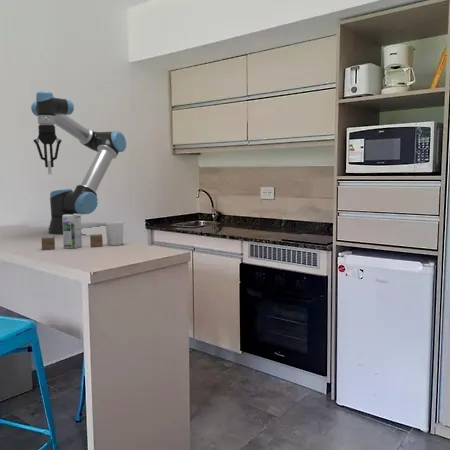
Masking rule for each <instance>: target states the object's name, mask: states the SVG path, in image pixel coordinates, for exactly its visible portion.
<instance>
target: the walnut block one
mask: <svg viewBox="0 0 450 450" xmlns="http://www.w3.org/2000/svg"><path fill="white" fill-rule="evenodd" d="M89 237H90V238H89V239H90V240H89V242H90V248H101V247H102V248H103V247H104V245H103V242H104V241H103V233H102V234H101V233H100V234H99V233H98V234H96V233H95V234H89Z"/></svg>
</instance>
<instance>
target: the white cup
mask: <svg viewBox="0 0 450 450" xmlns="http://www.w3.org/2000/svg"><path fill="white" fill-rule="evenodd" d="M105 233H106V242H107V246H121V244H122V245H124V221H107V222H105Z"/></svg>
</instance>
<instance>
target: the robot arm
mask: <svg viewBox="0 0 450 450" xmlns="http://www.w3.org/2000/svg"><path fill="white" fill-rule="evenodd" d="M35 99H36V100H35V101H33V102H32V104H31V107H30V109H31V112H32V114H33V115H35V116H36V117H37V124H38V126H37V127H38V136H37V138H35V139H33V143H34V144H35V146H36V148H37V151H38V155H39V158H40V160H43V161H44V166H45V168H47V173H48V174H47V175H53V173H52V168H54V167H55V166H54V161H56V160H57V159H58V155H59V154H58V153H59V150H60V145H61V143H62V141H63V140H62V139H59V138H58V137H57V134H56V127H59V128H60V129H62V130H63V131H65V132H67V133H68V134H69V135H71V136H73V137H74V138H76V139H77V140H79V143H80V144H81V145H83V146H84V147H87V148H88V149H90V150H92V151H95V152H97V154H96V155H95V157H94V159H93V161H92V163H91V165H90V167H89V169H88V170H87V172H86V174H85V176H84V178H83V180H82V182H81V184H77V185H76V187H75V189H74V191H73V189H72V188H68V189H67V188H66V189H57V190H52V191H50V194H49V195H50V198H49V203H50V204H49V205H50V218H51V219H50V223H49V227H48V234H51V235H52V234H54V235H60V234H61V235H63V221H62V215H66V214H73V215H89V214H92V213H94V212H95V211H96V209H97V208H98V203H99V202H98V195H97V191H98V188H99V186H100V184H101V182H102V180H103V178H104V176H105V175H106V172H107V171H108V168H109V166H110V164H111V163H112V160H113V159H117V156H118V155H119V153H123V152H125V150H126V148H127V140H126V138H125V135H124V134H123V133H122V132H120V131H115V130H113V131H94V130H92V129H90V128H86V127H85V126H83V125H81V124H80V123H79V122H77V121H76V120H74V119H73V118H71V117H70V115H72V114H73V112H74V110H75V105H74V103H73V101H72V100H71V99H66V98H59V97H58V98H57V97H54V94H53V92H51V91H46V90H45V91H44V90H43V91H41V90H40V91H37V92H36V95H35ZM55 125H56V126H55ZM40 142H41V144H43V149H44V150H43V153H42V149H41V146H40V144H39V143H40ZM55 142H56V146H55V153H54V154H53V144H54V143H55ZM47 145H49V157H50V158H49V159H50V160H48V147H47ZM43 154H44V155H43Z"/></svg>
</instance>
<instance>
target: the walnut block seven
mask: <svg viewBox="0 0 450 450" xmlns="http://www.w3.org/2000/svg"><path fill="white" fill-rule="evenodd" d="M55 249H56V243H55V236H41V251H50V250H51V251H52V250H53V251H54V250H55Z"/></svg>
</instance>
